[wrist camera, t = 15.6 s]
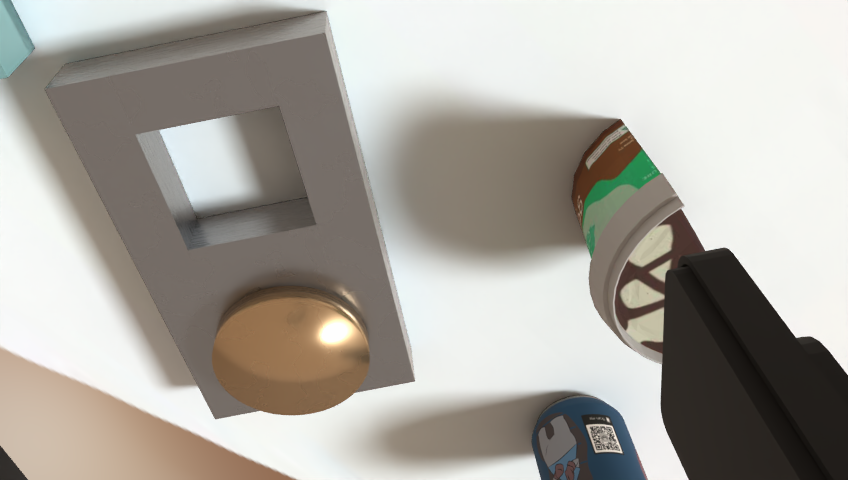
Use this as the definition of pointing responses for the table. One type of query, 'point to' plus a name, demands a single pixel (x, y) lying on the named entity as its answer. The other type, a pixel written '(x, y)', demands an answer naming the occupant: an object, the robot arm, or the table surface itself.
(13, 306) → the table surface
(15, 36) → the tray
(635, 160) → the food container
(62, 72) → the bracket
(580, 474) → the soda can
